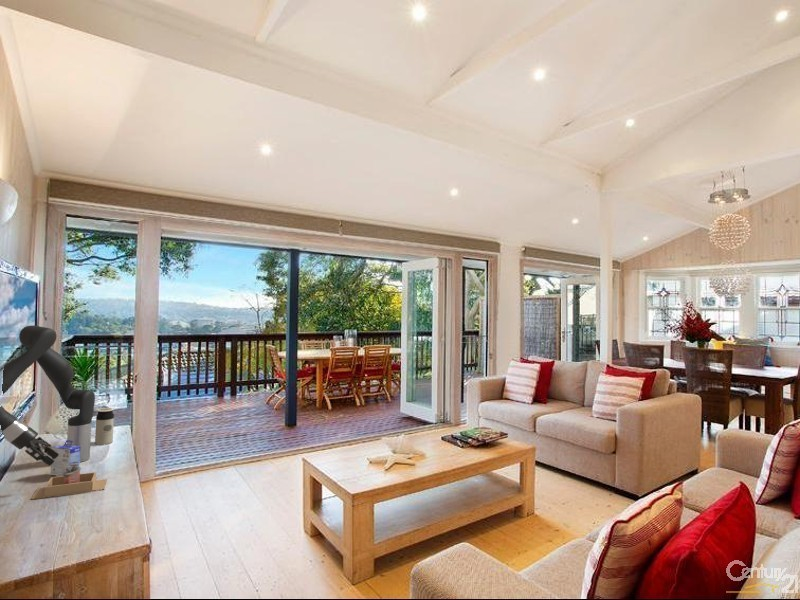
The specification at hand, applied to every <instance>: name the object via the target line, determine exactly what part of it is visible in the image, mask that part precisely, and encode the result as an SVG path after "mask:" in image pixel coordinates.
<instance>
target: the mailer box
mask: <svg viewBox="0 0 800 600" xmlns="http://www.w3.org/2000/svg"><path fill="white" fill-rule="evenodd" d="M96 479H97V480H96ZM107 481H108V479H107V478H106V479H105V478H104V479H99V480H98V477H97V472H96V471H93V472H92V471H91V472H84V473H80V480H79V483H72V484H64V476H52V477H50V478H49V480H48V482H47V483H46V485H45V486H43V487H38V488H37V489H36V490H35V492H34V494H33V496H32V497H31V498H30V499H31V500H37V499H38V500H39V499H46V498H45V497H48V498H52V497H51V496H55V497H61V496H60V495H63V496H68V495H76V494H83V493H90V491H92V492H97V491H96V490H99V491H102V490H101V489H104V488H105V489H106V486H107ZM105 485H106V486H105ZM105 489H104V490H105ZM58 495H59V496H58Z"/></svg>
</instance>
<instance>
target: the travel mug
mask: <svg viewBox="0 0 800 600" xmlns="http://www.w3.org/2000/svg"><path fill="white" fill-rule="evenodd" d="M114 410H115V409H114V408H112V407H105V408H104V407H103V408H98V409H97V410H96V411H97V414H96V415H95V416H96V417H95V435H94V437H95V439H94V444H95V445H96V446H97V445H98V446H104V444H105V445H110V444H111V443H113V441H114V425H115V424H114V422H115V414H114Z"/></svg>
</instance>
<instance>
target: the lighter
mask: <svg viewBox="0 0 800 600" xmlns="http://www.w3.org/2000/svg"><path fill="white" fill-rule="evenodd" d="M81 469H82V468H81V467H80V466H79V467H78V463H75V464H71V465H70V466H68V467H67V468H66V471H67V472H65V473H64V474H63V476H64V484H72V483H79V480H80V474H81Z"/></svg>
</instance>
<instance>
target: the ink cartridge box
mask: <svg viewBox="0 0 800 600" xmlns="http://www.w3.org/2000/svg"><path fill="white" fill-rule="evenodd" d="M67 442H70V443H71V444H67ZM72 443H73V441H71V440H67V439H66V440H65V442H64V443H63V444H60V445H57V446H53V447H52V449H53V450H54V451H55V452H57V453H58V454H59V456H58V457H56V458H55V459H53V458H52V457H51V458H52V459H53V460H54V463H52V464H51V465H50V472H49V476H51V475H56V476H55V477H59V476H63V474H64V473H65V472H67V471H66V468H67V467H68V466H70V465H71V464H75V463H78V467H80V463H81V462H80V448H81V446H72Z"/></svg>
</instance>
